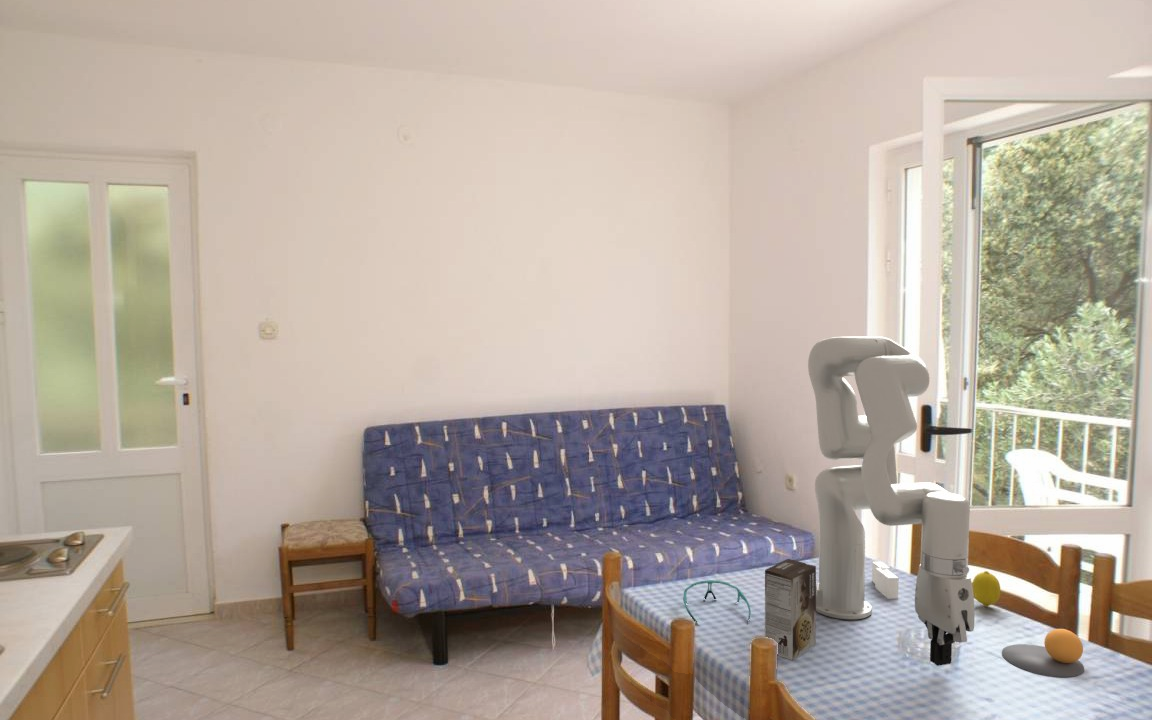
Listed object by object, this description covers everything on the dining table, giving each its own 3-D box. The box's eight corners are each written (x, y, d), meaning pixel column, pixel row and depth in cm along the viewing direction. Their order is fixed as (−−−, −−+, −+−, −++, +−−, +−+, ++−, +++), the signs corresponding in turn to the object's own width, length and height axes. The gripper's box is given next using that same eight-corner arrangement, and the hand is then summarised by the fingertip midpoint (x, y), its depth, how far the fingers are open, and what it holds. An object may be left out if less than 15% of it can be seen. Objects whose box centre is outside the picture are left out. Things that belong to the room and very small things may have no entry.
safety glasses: (739, 599, 171) (740, 579, 170) (756, 633, 156) (757, 611, 155) (678, 600, 170) (678, 580, 170) (690, 634, 156) (690, 612, 155)
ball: (1083, 625, 138) (1090, 656, 138) (1046, 621, 142) (1053, 651, 142) (1074, 640, 134) (1081, 672, 134) (1037, 635, 138) (1043, 666, 138)
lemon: (1003, 612, 161) (1004, 576, 161) (976, 610, 162) (977, 574, 162) (995, 603, 167) (995, 567, 166) (968, 601, 168) (968, 566, 167)
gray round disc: (1008, 670, 135) (1009, 669, 135) (996, 641, 147) (996, 640, 147) (1093, 682, 130) (1093, 681, 130) (1073, 651, 142) (1073, 650, 142)
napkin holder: (903, 606, 167) (904, 581, 166) (852, 595, 174) (852, 571, 173) (919, 586, 179) (919, 563, 178) (870, 577, 185) (870, 554, 185)
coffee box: (787, 636, 150) (787, 557, 149) (817, 646, 145) (817, 565, 145) (763, 650, 144) (763, 568, 143) (793, 661, 139) (793, 576, 138)
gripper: (994, 575, 126) (990, 680, 127) (931, 548, 140) (928, 642, 142) (957, 580, 124) (953, 686, 125) (897, 551, 139) (894, 646, 140)
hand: (940, 662), depth 134 cm, fingers closed
